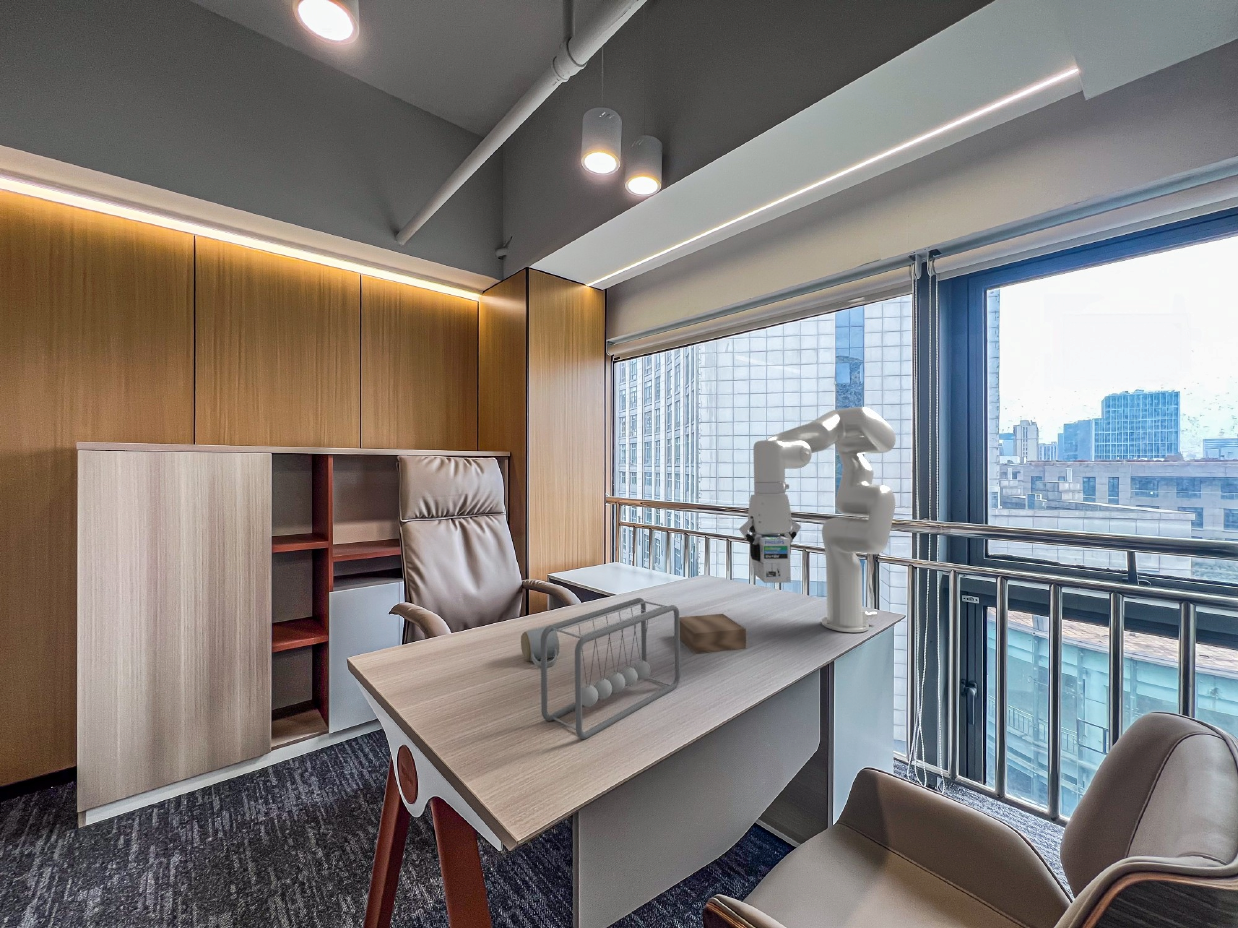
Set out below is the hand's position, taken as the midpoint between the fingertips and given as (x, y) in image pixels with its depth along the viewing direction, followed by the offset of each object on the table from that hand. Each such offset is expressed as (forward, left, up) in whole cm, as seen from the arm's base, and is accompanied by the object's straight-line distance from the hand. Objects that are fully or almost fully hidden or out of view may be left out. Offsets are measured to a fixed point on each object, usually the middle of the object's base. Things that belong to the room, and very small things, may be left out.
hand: (770, 558), depth 125 cm
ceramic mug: (+57, -10, -24) cm, 62 cm away
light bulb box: (0, 0, -5) cm, 5 cm away
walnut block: (+12, -12, -24) cm, 29 cm away
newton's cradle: (+44, +16, -24) cm, 53 cm away
